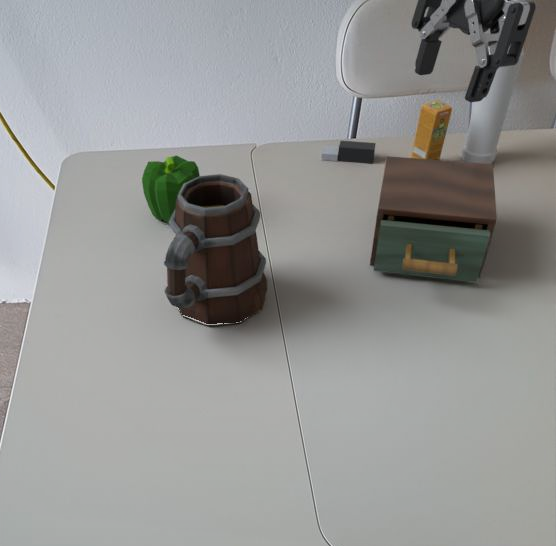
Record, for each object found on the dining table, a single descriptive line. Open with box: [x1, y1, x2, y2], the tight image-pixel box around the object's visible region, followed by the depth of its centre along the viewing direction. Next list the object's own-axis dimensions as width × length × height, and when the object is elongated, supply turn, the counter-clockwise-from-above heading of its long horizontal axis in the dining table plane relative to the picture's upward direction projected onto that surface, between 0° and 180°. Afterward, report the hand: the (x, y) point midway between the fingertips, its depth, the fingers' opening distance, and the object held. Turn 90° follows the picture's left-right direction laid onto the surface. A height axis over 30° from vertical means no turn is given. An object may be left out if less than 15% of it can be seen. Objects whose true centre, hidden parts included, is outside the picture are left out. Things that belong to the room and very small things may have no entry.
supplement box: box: [410, 99, 453, 160], centre depth 99 cm, size 3×3×10 cm
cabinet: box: [369, 155, 498, 279], centre depth 85 cm, size 14×14×9 cm
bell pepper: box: [141, 155, 201, 224], centre depth 93 cm, size 8×8×10 cm
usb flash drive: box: [321, 140, 376, 164], centre depth 105 cm, size 8×3×2 cm, turn 74°
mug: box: [163, 173, 268, 324], centre depth 75 cm, size 16×12×15 cm
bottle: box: [461, 0, 527, 164], centre depth 94 cm, size 5×5×25 cm
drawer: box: [373, 215, 490, 283], centre depth 81 cm, size 17×12×7 cm
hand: (447, 86), depth 74 cm, fingers open, 8 cm apart
